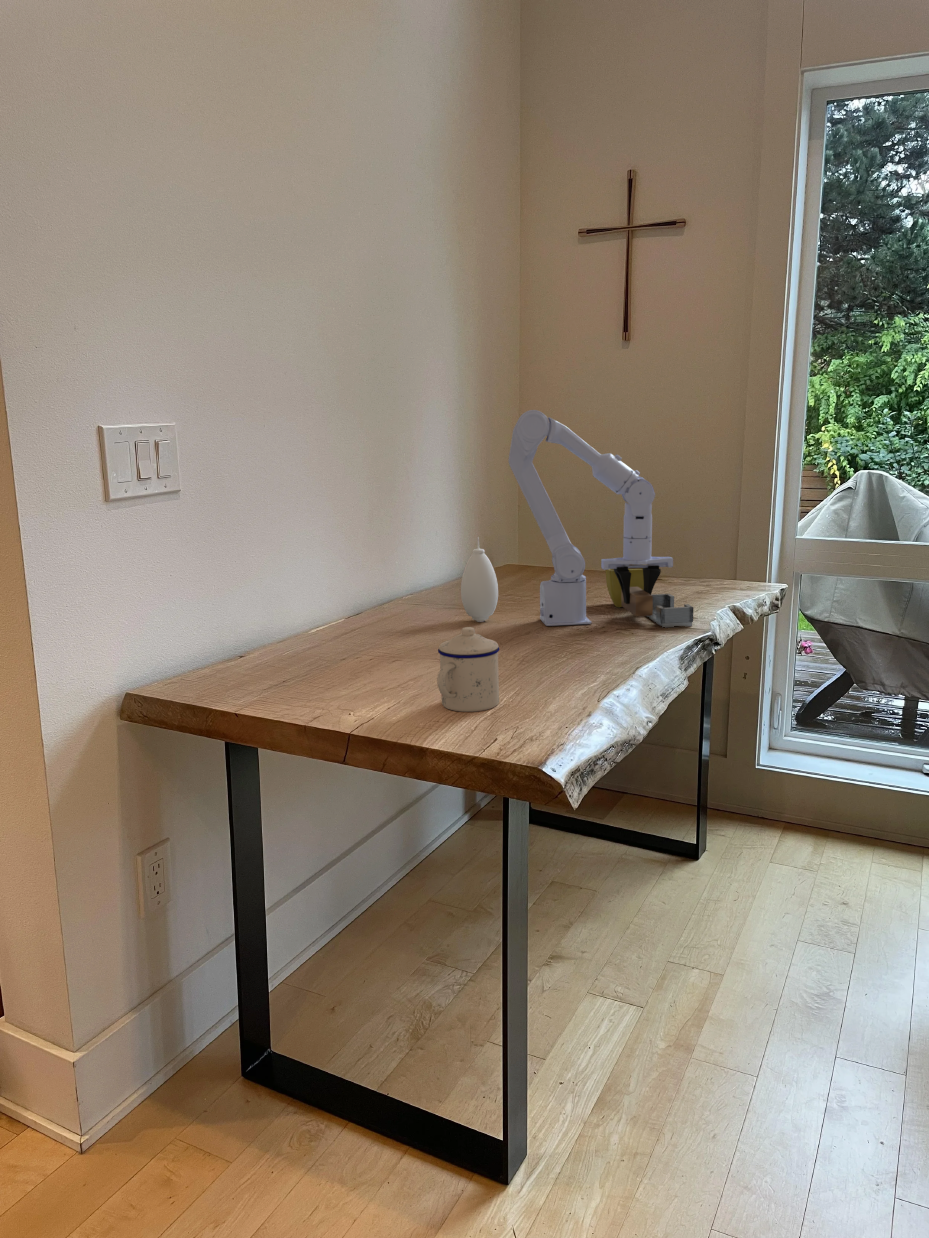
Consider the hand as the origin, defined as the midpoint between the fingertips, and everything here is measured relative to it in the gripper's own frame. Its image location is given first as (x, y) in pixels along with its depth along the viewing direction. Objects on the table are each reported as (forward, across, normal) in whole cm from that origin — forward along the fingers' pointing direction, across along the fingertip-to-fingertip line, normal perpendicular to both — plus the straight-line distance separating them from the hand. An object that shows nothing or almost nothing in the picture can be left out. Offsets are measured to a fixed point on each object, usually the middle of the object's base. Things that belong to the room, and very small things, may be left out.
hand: (636, 602), depth 193 cm
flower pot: (+4, +2, +16) cm, 17 cm away
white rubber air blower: (+4, -32, +7) cm, 33 cm away
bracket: (+4, +6, 0) cm, 7 cm away
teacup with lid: (+4, -41, -53) cm, 67 cm away
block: (+2, 0, 0) cm, 2 cm away
